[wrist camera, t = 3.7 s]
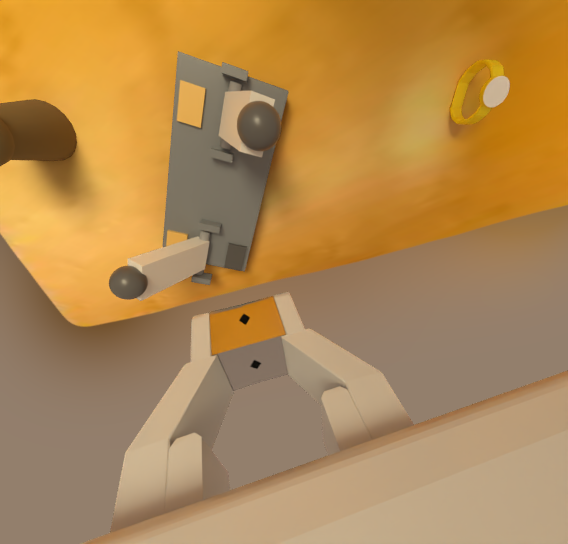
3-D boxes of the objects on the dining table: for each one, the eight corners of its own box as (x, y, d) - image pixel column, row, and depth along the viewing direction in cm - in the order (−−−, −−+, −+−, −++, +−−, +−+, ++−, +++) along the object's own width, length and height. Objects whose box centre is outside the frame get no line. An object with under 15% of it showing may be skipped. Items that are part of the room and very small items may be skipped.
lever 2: (249, 89, 27) (299, 86, 17) (238, 150, 30) (276, 179, 20) (218, 77, 26) (253, 66, 16) (209, 143, 29) (234, 169, 19)
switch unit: (285, 91, 30) (291, 87, 26) (242, 274, 41) (241, 290, 37) (185, 55, 28) (174, 44, 24) (166, 259, 39) (157, 275, 35)
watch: (458, 123, 34) (493, 127, 29) (438, 121, 34) (470, 126, 29) (480, 64, 31) (524, 58, 26) (458, 62, 31) (498, 55, 26)
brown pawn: (11, 88, 28) (-115, 70, 18) (77, 113, 29) (-7, 109, 20) (15, 148, 30) (-95, 160, 21) (75, 168, 32) (0, 188, 22)
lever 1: (218, 235, 33) (126, 267, 22) (211, 275, 36) (126, 322, 25) (198, 225, 34) (99, 252, 23) (192, 266, 37) (101, 307, 26)
